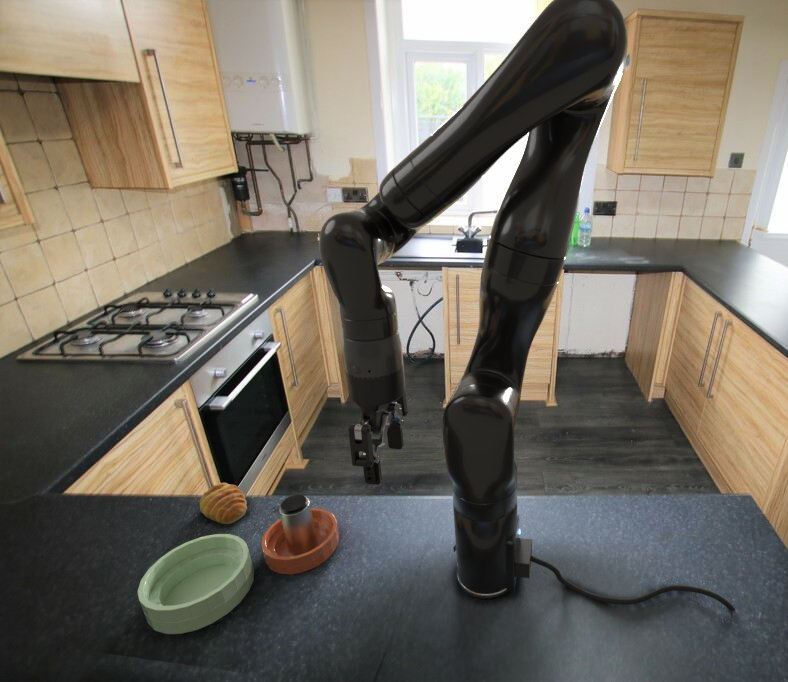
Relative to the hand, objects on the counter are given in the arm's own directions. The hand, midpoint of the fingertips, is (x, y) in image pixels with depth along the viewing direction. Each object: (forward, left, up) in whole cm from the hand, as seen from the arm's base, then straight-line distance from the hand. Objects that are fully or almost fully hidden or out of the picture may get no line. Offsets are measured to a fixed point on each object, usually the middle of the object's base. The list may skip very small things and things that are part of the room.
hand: (385, 464), depth 69 cm
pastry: (+35, -7, -18) cm, 40 cm away
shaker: (+16, 0, -18) cm, 24 cm away
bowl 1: (+26, +10, -18) cm, 33 cm away
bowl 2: (+16, 0, -18) cm, 24 cm away
